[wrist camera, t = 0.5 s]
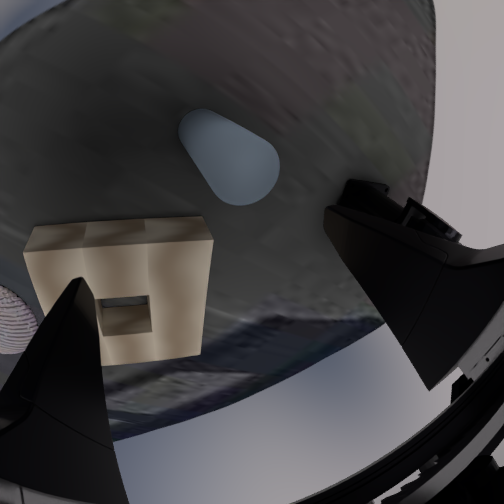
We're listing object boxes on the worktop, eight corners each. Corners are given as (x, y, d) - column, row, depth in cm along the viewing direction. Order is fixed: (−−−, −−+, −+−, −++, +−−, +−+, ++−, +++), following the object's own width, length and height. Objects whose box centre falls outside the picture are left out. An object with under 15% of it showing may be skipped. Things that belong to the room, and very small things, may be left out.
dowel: (225, 110, 18) (286, 140, 11) (218, 152, 20) (271, 205, 13) (181, 107, 17) (215, 132, 10) (175, 150, 18) (204, 205, 12)
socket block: (202, 216, 22) (213, 239, 20) (192, 329, 30) (200, 354, 27) (34, 226, 17) (22, 252, 14) (70, 340, 24) (70, 367, 22)
